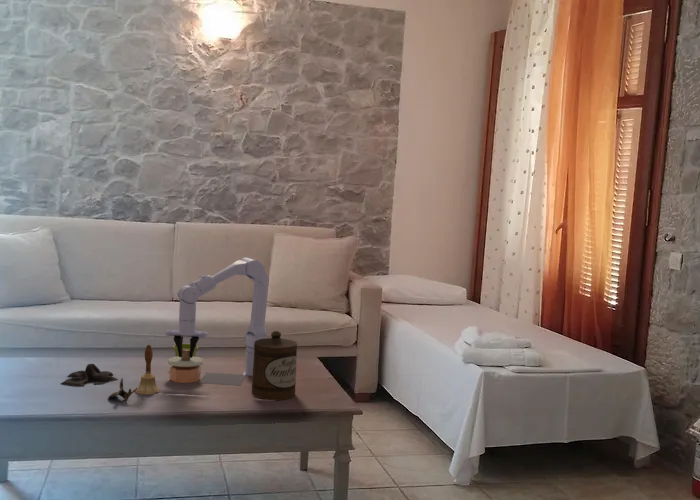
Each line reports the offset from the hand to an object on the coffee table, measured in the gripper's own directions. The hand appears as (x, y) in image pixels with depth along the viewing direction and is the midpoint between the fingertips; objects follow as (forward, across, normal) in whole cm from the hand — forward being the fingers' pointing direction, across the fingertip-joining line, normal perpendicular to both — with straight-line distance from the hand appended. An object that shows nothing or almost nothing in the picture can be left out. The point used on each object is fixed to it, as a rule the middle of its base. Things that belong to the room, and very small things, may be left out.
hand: (185, 356), depth 267 cm
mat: (+9, -13, -3) cm, 16 cm away
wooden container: (+9, -33, +12) cm, 36 cm away
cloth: (+10, +31, +4) cm, 33 cm away
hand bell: (+9, +9, +16) cm, 20 cm away
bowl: (+9, 0, 0) cm, 9 cm away
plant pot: (+9, +4, -17) cm, 20 cm away
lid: (+2, 0, 0) cm, 2 cm away
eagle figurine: (+9, +15, +26) cm, 32 cm away
